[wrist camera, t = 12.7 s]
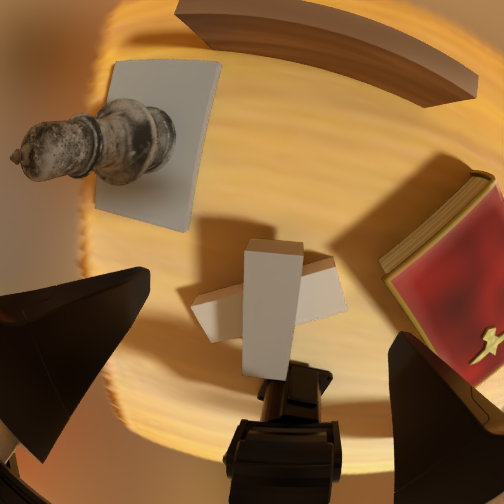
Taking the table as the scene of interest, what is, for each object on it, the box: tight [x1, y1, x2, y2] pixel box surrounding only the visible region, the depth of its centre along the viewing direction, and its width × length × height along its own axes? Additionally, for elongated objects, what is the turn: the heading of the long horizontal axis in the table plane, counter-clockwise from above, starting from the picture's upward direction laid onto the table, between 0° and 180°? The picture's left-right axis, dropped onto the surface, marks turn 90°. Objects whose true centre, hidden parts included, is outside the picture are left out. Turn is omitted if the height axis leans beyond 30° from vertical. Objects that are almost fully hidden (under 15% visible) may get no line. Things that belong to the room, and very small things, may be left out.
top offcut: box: [242, 238, 304, 381], centre depth 20 cm, size 4×11×2 cm, turn 178°
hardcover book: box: [378, 170, 504, 388], centre depth 18 cm, size 12×21×4 cm, turn 45°
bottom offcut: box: [190, 257, 348, 343], centre depth 22 cm, size 4×12×2 cm, turn 112°
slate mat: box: [95, 59, 222, 233], centre depth 19 cm, size 13×9×1 cm
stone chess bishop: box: [10, 98, 176, 186], centre depth 13 cm, size 6×6×12 cm
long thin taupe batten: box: [174, 0, 478, 108], centre depth 12 cm, size 2×16×7 cm, turn 77°
